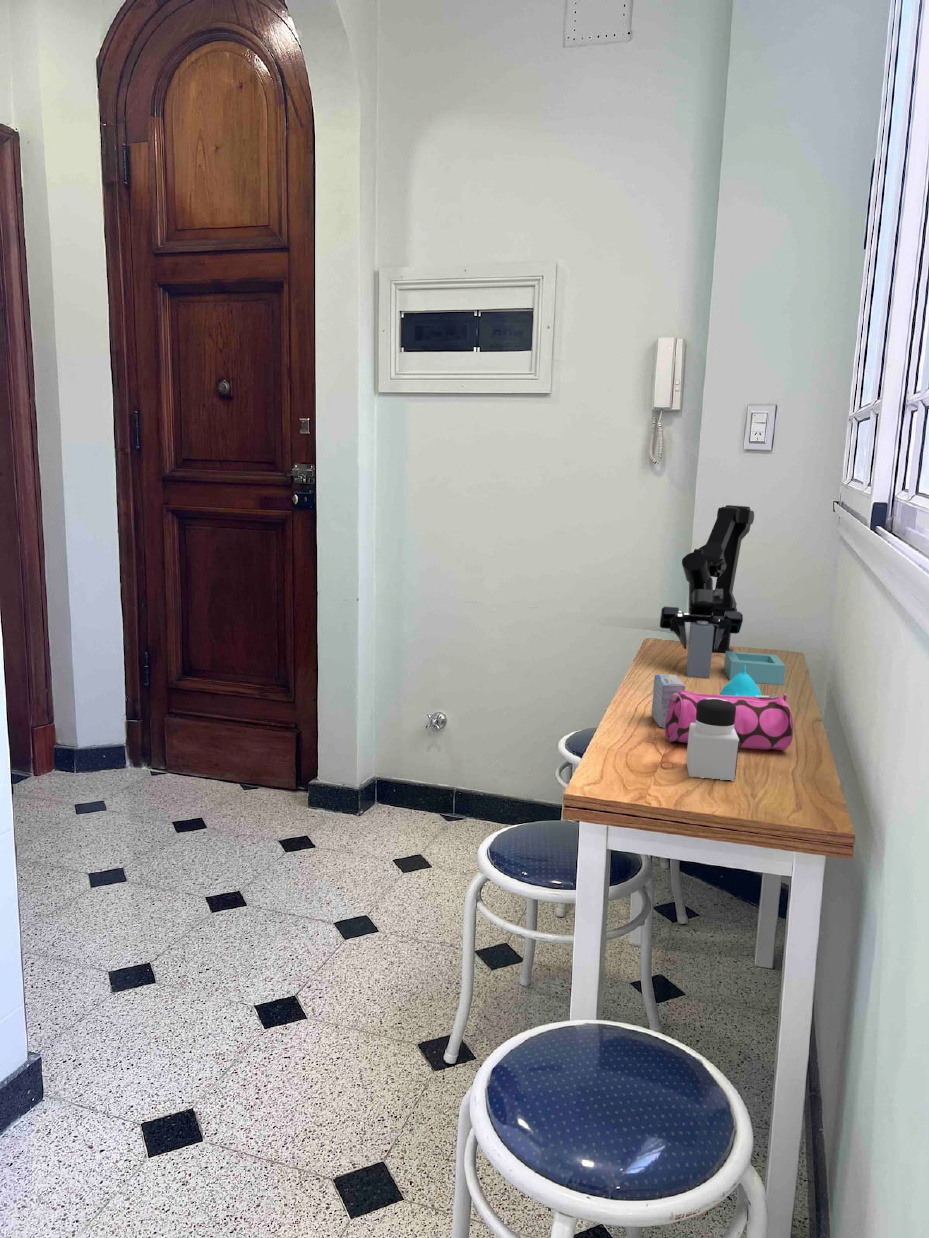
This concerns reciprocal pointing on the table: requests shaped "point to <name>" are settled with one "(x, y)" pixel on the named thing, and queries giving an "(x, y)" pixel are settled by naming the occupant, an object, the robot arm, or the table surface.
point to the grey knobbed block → (699, 649)
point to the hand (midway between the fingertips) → (700, 649)
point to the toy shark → (741, 686)
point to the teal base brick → (755, 666)
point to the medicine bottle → (713, 741)
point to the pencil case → (737, 719)
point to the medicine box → (664, 695)
